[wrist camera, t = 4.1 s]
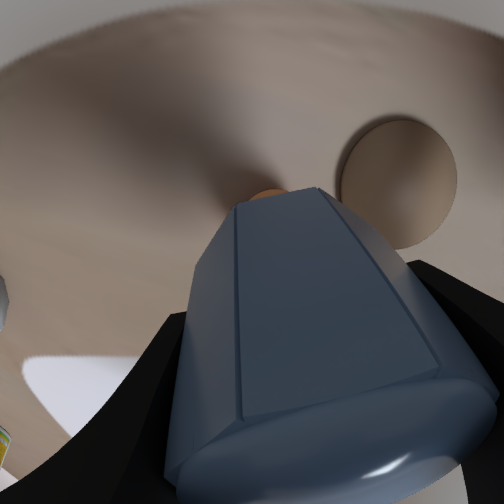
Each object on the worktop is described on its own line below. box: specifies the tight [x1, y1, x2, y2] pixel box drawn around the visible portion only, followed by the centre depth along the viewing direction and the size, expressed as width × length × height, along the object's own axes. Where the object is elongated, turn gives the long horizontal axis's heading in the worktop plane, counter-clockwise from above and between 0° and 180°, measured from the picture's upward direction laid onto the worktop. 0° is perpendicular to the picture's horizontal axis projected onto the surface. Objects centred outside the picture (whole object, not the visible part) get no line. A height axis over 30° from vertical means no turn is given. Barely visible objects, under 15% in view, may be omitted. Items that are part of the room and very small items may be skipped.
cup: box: [164, 187, 500, 504], centre depth 7 cm, size 6×6×7 cm
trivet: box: [340, 120, 457, 250], centre depth 15 cm, size 7×7×1 cm
